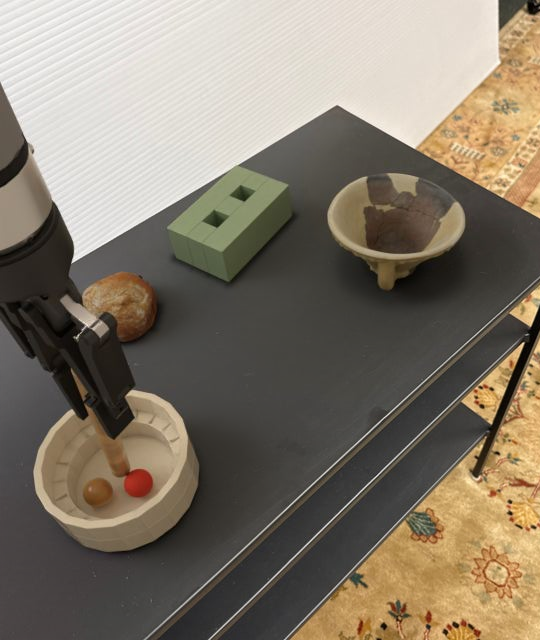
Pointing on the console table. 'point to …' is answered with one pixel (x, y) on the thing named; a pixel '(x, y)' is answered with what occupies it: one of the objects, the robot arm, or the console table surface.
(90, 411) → the stick
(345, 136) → the console table surface
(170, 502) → the mixing bowl
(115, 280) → the bread roll
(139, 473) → the bead
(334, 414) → the console table surface
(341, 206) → the bowl
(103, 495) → the bead
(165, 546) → the console table surface
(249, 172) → the holder
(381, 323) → the console table surface
